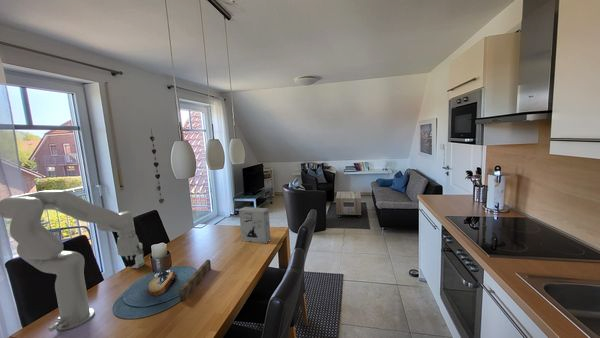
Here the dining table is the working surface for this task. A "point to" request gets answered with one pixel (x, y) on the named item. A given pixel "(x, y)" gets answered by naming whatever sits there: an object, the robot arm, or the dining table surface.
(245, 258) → the dining table surface
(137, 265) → the syrup box
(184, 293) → the walnut board
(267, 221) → the cereal box
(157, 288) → the bread slice
